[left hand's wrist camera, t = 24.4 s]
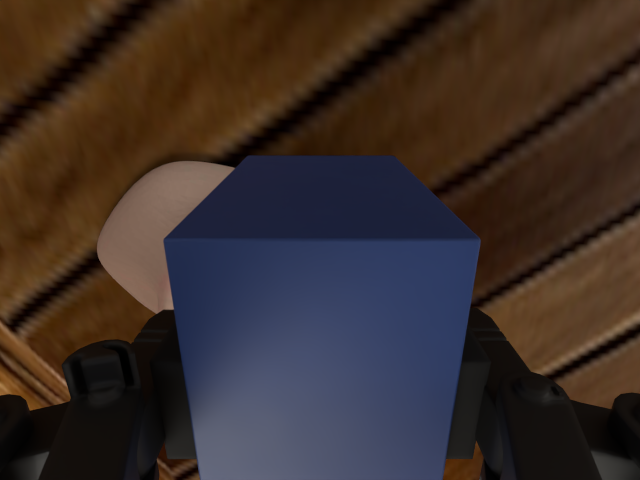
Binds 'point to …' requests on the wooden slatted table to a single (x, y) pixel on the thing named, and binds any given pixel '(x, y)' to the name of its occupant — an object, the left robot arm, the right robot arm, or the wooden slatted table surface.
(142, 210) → the anatomical model
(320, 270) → the block
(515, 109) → the wooden slatted table surface
